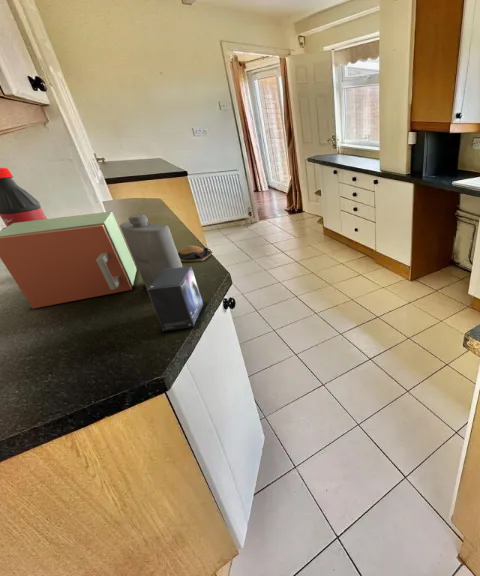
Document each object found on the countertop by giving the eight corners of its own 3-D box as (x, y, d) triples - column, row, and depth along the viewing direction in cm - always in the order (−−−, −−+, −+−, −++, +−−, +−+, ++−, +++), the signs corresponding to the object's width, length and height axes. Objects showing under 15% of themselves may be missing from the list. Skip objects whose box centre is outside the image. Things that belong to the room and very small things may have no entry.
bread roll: (169, 262, 101) (165, 251, 100) (184, 252, 109) (180, 242, 107) (202, 262, 101) (198, 251, 99) (214, 252, 109) (211, 241, 107)
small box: (196, 327, 69) (180, 285, 64) (162, 332, 68) (144, 289, 63) (205, 303, 78) (192, 264, 73) (176, 307, 77) (160, 268, 72)
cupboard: (132, 286, 87) (104, 222, 78) (35, 306, 78) (-10, 237, 69) (136, 269, 97) (111, 211, 88) (50, 286, 88) (13, 223, 79)
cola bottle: (60, 266, 100) (4, 165, 86) (81, 268, 98) (28, 166, 84) (28, 278, 93) (-38, 170, 78) (51, 280, 91) (-13, 170, 77)
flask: (138, 287, 86) (106, 215, 77) (160, 278, 91) (132, 209, 81) (173, 299, 80) (143, 222, 71) (194, 289, 85) (169, 215, 75)
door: (127, 298, 81) (96, 231, 72) (23, 319, 73) (-26, 247, 64) (132, 288, 86) (103, 224, 77) (34, 306, 78) (-10, 238, 69)
